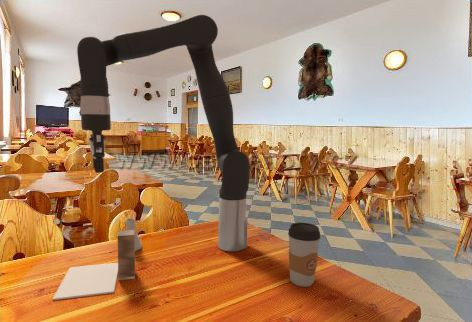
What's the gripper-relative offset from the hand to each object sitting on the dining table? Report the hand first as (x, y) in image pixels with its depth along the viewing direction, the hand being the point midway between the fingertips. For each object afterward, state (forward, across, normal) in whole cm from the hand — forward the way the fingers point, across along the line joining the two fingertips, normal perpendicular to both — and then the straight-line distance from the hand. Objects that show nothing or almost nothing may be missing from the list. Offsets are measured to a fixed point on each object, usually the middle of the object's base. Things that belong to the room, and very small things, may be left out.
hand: (98, 170), depth 85 cm
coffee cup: (+29, -35, -46) cm, 65 cm away
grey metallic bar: (+28, -12, -5) cm, 30 cm away
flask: (+28, +7, -9) cm, 30 cm away
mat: (+27, -10, +4) cm, 29 cm away
